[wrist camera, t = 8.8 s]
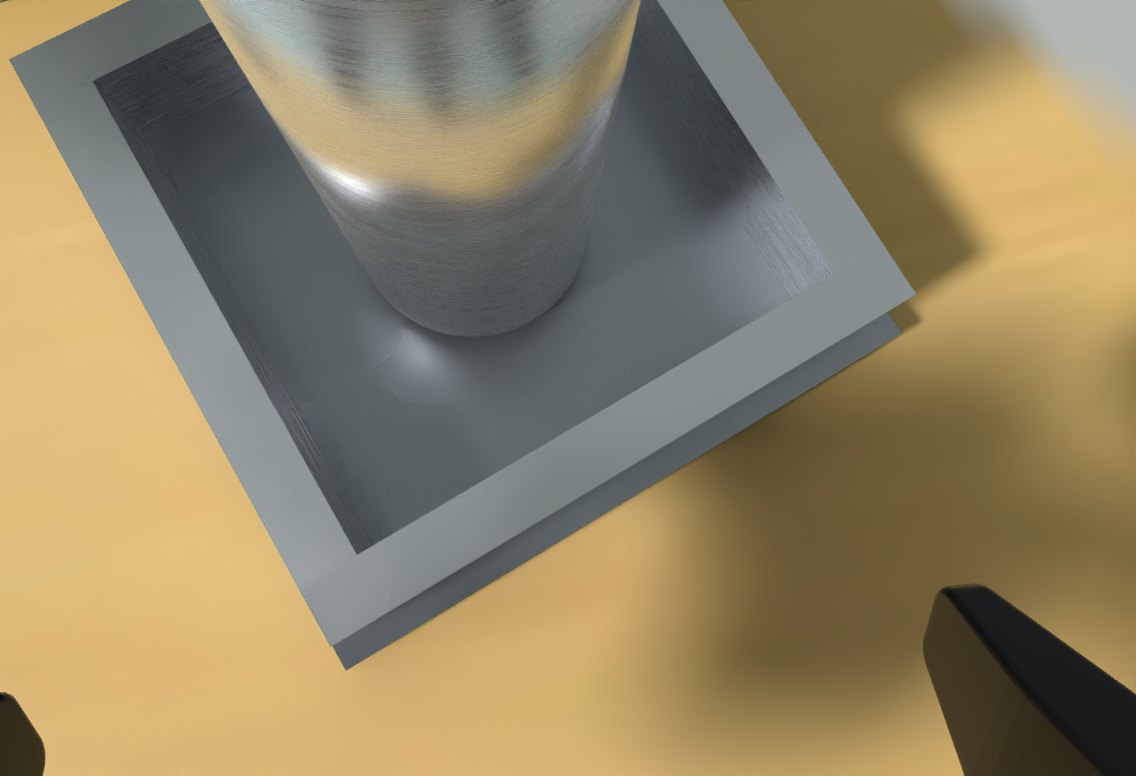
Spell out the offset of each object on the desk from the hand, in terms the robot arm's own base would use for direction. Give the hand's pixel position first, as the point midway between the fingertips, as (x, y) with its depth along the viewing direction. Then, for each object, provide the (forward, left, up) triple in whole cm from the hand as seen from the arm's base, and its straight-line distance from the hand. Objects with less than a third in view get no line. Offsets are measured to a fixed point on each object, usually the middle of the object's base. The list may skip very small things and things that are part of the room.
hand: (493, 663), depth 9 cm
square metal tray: (+6, -3, -8) cm, 11 cm away
